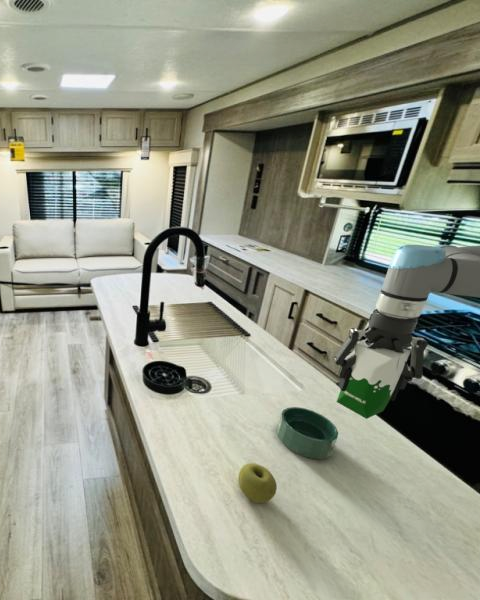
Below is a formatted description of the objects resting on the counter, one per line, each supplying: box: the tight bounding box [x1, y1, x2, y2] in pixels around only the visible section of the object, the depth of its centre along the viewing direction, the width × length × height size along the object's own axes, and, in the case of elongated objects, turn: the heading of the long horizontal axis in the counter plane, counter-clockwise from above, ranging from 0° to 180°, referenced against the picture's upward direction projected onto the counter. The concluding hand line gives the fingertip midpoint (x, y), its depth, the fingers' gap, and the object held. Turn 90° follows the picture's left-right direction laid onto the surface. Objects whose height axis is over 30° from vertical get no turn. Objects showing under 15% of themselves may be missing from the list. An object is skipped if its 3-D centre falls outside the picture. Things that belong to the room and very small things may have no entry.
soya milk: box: [336, 339, 411, 420], centre depth 78 cm, size 9×9×20 cm
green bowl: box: [276, 406, 339, 460], centre depth 87 cm, size 13×13×6 cm
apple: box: [237, 462, 277, 504], centre depth 72 cm, size 8×8×7 cm
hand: (365, 392), depth 80 cm, fingers closed on soya milk, 9 cm apart
